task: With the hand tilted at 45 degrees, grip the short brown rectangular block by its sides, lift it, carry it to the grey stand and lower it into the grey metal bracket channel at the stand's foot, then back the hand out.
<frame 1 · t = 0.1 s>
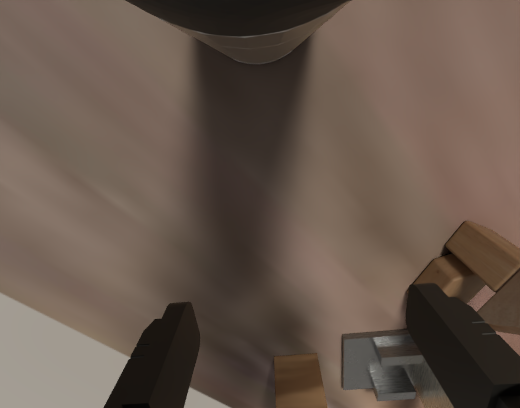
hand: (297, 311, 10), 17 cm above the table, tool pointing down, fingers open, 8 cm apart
grey stand: (389, 357, 37), on the table
wooden block: (444, 261, 30), on the table
brown rectangular block: (296, 363, 38), on the table
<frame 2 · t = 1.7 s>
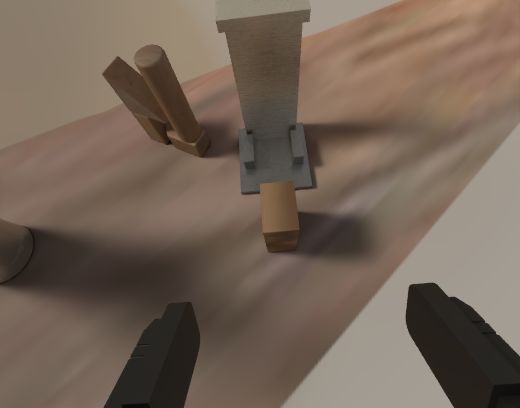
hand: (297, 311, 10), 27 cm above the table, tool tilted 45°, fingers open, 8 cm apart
grey stand: (273, 155, 44), on the table
wooden block: (181, 141, 47), on the table
brown rectangular block: (280, 231, 39), on the table
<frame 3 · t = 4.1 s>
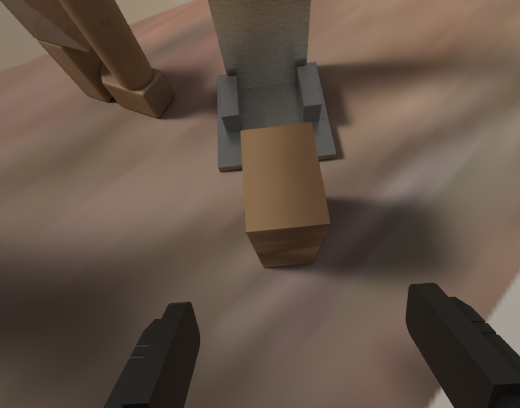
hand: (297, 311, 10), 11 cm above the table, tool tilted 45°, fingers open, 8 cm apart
grey stand: (270, 112, 28), on the table
wooden block: (131, 98, 31), on the table
brown rectangular block: (284, 230, 23), on the table
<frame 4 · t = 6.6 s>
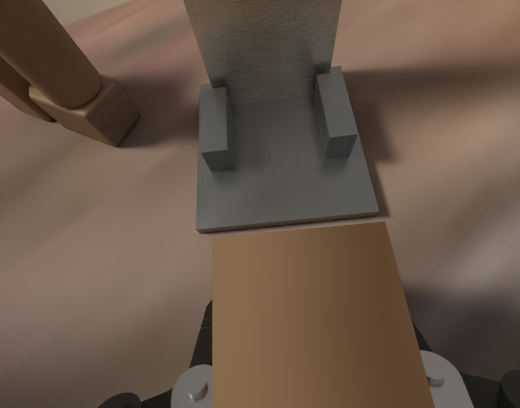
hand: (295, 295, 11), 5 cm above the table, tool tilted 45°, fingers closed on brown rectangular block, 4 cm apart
grey stand: (276, 139, 19), on the table
wooden block: (82, 115, 23), on the table
brown rectangular block: (298, 340, 14), on the table, touching gripper
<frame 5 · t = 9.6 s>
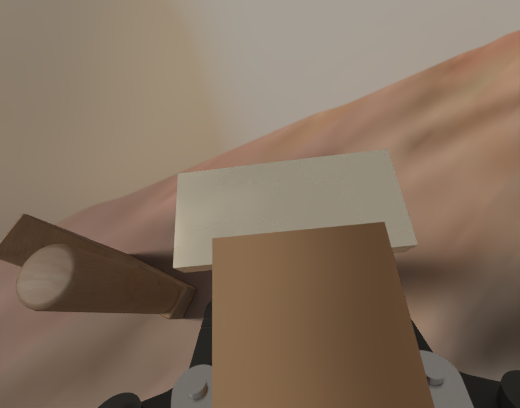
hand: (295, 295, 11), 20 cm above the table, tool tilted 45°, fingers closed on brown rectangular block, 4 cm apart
grey stand: (292, 320, 29), on the table
wooden block: (153, 284, 32), on the table
brown rectangular block: (298, 340, 14), point 15 cm above the table, touching gripper
when the fingers open (6 cm above the table, at t = 12.5 s): brown rectangular block stays where it is, resting on grey stand.
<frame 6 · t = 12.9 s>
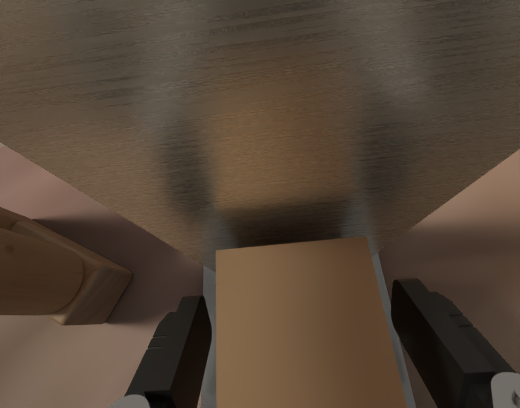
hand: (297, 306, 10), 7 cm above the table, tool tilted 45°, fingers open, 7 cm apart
grey stand: (295, 327, 16), on the table
wooden block: (65, 267, 19), on the table
brown rectangular block: (295, 340, 15), point 1 cm above the table, touching grey stand
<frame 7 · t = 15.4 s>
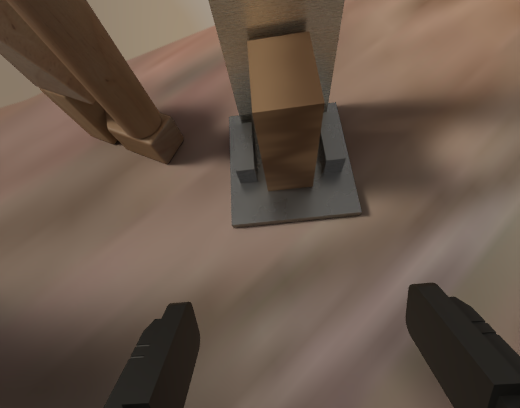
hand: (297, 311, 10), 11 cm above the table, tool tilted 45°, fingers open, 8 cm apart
grey stand: (287, 159, 26), on the table
wooden block: (138, 139, 30), on the table
brown rectangular block: (286, 160, 25), point 1 cm above the table, touching grey stand
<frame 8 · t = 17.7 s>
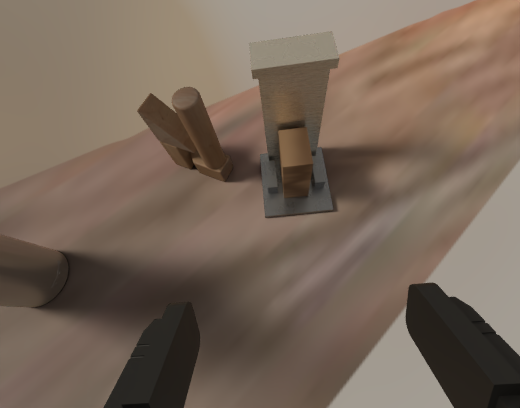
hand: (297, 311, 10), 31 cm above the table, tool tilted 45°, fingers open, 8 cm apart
grey stand: (294, 179, 46), on the table
wooden block: (204, 166, 50), on the table
brown rectangular block: (293, 181, 45), point 1 cm above the table, touching grey stand
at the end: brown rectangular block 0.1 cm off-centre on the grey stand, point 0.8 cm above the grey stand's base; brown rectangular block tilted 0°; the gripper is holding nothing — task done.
